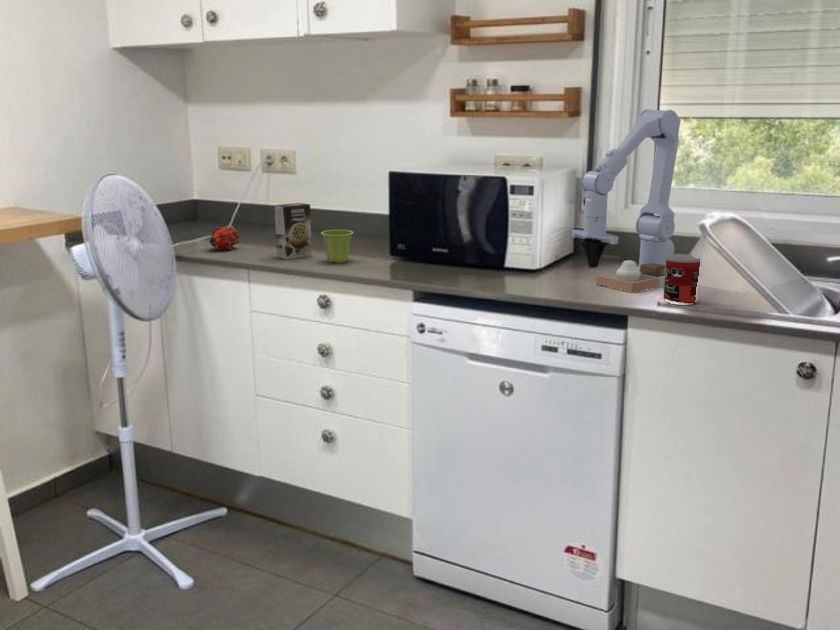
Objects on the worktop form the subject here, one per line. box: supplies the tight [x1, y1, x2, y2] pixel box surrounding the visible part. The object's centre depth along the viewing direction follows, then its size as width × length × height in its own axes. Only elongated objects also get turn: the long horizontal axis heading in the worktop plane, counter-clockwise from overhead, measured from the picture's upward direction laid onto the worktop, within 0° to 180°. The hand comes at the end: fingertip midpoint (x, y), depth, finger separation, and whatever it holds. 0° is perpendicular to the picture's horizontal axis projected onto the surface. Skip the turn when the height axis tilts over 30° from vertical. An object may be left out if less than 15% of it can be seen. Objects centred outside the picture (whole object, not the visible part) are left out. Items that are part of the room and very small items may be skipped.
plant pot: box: [320, 229, 354, 264], centre depth 253 cm, size 9×9×9 cm
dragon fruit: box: [209, 224, 240, 252], centre depth 271 cm, size 8×8×12 cm
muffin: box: [615, 259, 641, 282], centre depth 219 cm, size 6×6×7 cm
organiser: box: [595, 274, 665, 293], centre depth 223 cm, size 20×12×2 cm, turn 127°
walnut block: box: [640, 263, 665, 277], centre depth 225 cm, size 4×4×4 cm
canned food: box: [663, 253, 700, 303], centre depth 202 cm, size 8×8×11 cm
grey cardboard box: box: [274, 202, 313, 261], centre depth 258 cm, size 9×6×16 cm
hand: (593, 267), depth 229 cm, fingers closed
